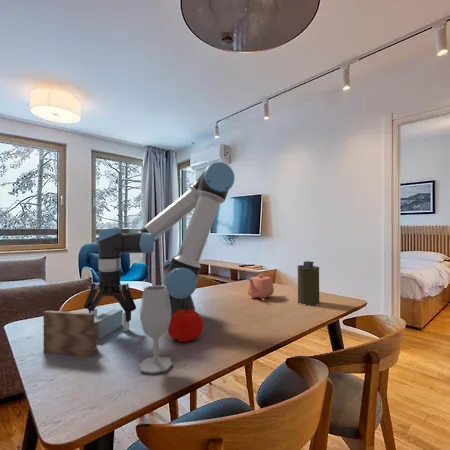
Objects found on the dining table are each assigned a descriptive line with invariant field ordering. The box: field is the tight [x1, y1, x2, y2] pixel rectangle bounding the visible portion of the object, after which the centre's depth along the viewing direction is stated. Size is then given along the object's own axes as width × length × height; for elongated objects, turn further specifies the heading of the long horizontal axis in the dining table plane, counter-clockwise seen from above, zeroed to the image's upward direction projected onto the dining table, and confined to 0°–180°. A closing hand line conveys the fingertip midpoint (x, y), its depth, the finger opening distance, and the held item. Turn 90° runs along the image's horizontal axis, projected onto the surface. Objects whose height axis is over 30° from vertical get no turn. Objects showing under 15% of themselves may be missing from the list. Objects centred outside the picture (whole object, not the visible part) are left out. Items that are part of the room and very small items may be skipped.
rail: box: [94, 308, 124, 341], centre depth 104 cm, size 4×15×6 cm, turn 168°
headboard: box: [42, 310, 98, 358], centre depth 88 cm, size 16×6×12 cm, turn 78°
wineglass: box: [138, 284, 173, 375], centre depth 77 cm, size 9×9×21 cm
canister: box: [297, 260, 321, 306], centre depth 141 cm, size 11×10×20 cm
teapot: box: [246, 273, 275, 300], centre depth 152 cm, size 20×12×12 cm, turn 140°
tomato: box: [167, 309, 204, 343], centre depth 97 cm, size 11×12×9 cm
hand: (109, 329), depth 106 cm, fingers open, 12 cm apart
